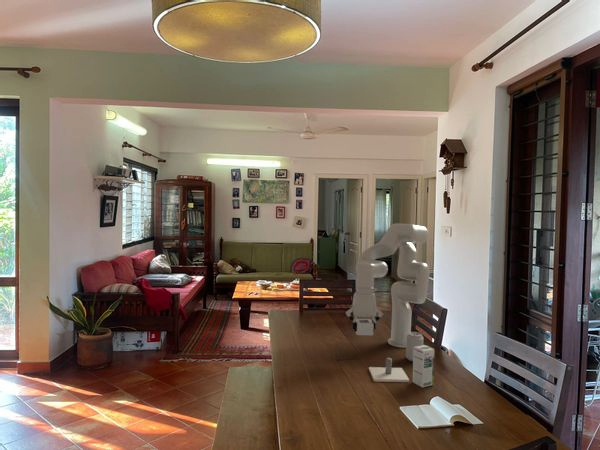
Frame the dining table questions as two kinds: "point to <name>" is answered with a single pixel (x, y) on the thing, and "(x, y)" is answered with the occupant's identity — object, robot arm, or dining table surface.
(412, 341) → the can
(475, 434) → the dining table surface
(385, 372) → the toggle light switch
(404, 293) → the robot arm
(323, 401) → the dining table surface
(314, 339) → the dining table surface
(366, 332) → the grey hollow square block
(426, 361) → the syrup box
